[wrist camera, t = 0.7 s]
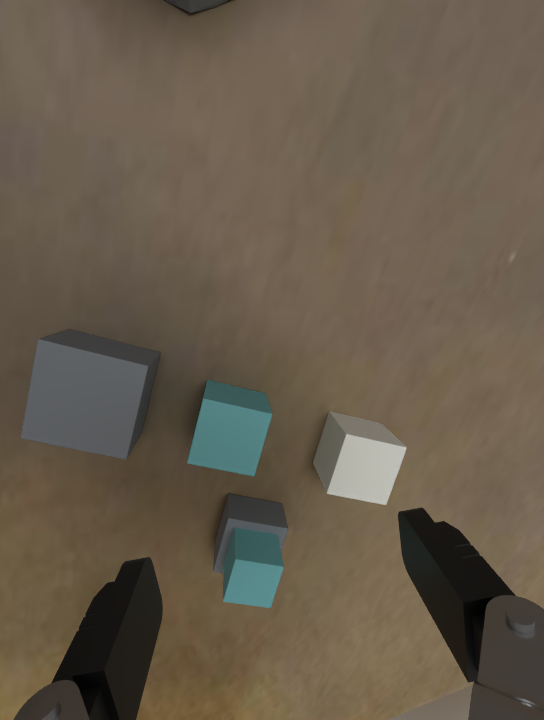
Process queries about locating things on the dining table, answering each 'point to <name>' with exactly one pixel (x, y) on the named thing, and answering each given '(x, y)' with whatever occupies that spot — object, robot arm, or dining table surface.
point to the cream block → (358, 458)
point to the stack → (250, 550)
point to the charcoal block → (89, 393)
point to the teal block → (230, 429)
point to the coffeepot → (196, 4)
